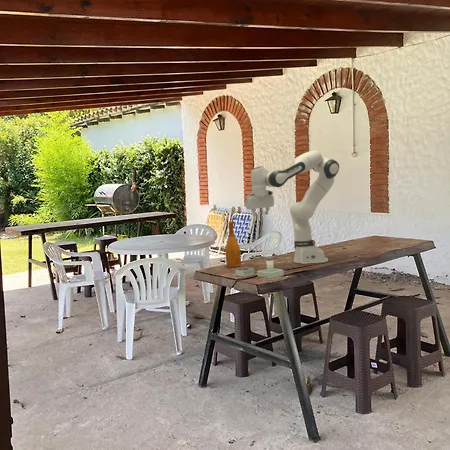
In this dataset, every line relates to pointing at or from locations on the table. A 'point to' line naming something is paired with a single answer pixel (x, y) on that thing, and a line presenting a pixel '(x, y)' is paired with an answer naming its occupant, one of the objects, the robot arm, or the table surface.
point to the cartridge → (269, 264)
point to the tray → (270, 275)
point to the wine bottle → (232, 249)
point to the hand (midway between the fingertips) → (260, 215)
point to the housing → (245, 272)
